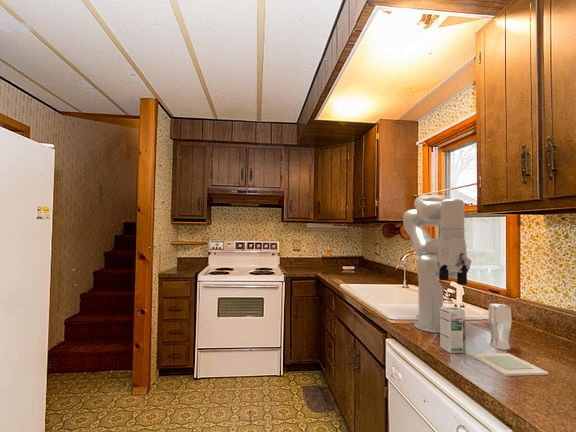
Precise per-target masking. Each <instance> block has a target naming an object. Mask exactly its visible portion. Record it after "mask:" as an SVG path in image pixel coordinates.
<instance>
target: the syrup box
mask: <svg viewBox="0 0 576 432" xmlns="http://www.w3.org/2000/svg"><path fill="white" fill-rule="evenodd" d="M439 334H440V335H439V337H440V339H439V340H440V341H439V342H440V348H441V349H442V350H444V351H446V352H448V353H449V354H466V353H467V351H466V350H467V349H466V311H465V309H462V308H460V307H457V306H443V307H440V333H439Z"/></svg>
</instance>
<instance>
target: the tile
mask: <svg viewBox="0 0 576 432" xmlns="http://www.w3.org/2000/svg"><path fill="white" fill-rule="evenodd" d="M470 357H472V358H474V359H475V360H477V361H479V362H481V363H482V364H484V365H485V366H487V367H489V368H490V369H493V370H495V371H496V372H498V373H499V374H501V375H502V376H504V377H509V376H510V377H511V376H515V377H516V376H517V377H519V376H548V375H549V374H550V373H549V372H548V371H547V370H544V369H542V368H540V367H537V366H536V365H534V364H531V363H529V362H528V361H527V360H523V359H521V358H519V357H517V356H515V355H514V354H511V353H508V352H507V353H505V352H504V353H503V352H502V353H501V352H500V353H498V352H497V353H470Z"/></svg>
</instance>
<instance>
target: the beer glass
mask: <svg viewBox="0 0 576 432" xmlns="http://www.w3.org/2000/svg"><path fill="white" fill-rule="evenodd" d="M511 309H512V307H511V306H510V305H507V304H502V303H493V302H492V303H491V302H490V303H488V312H487V313H488V315H487V316H488V317H487V318H488V324H489V329H490V336H491V337H490V343H489V346H491V347H492V348H494V349H496V350H497V349H498V350H502V351H510V350H511V344H510V332H511V330H512V329H511V327H512V323H513V322H512V321H513V319H512V310H511Z"/></svg>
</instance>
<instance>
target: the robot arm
mask: <svg viewBox="0 0 576 432" xmlns="http://www.w3.org/2000/svg"><path fill="white" fill-rule="evenodd" d="M413 204H414V208H415V209H414V208H413V209H408V210H406V211H404V213H403V217H402V222H403V227H404V229H405V232H406V233H407V235H408V236H409V237H410V239H411V242H412V245H413V248H414V252H415V254H416V256H417V259H416V261H415V262H416V271H417V280H418V313H417V315H416V316H415V317H416V318H417V321H415V323H414V327H415V328H416V329H417V330H420V331H422V332H423V331H424V332H427V333H432V334H440V307H444V289H443V286H442V284H441V283H440V282H439V280H440V281H449V279H450V278H454V279H455V278H456V284H457V285H461V286H462V285H463V286H464V285H468V273H469V270H470V268H471V264H472V260H471V259H470V258H469V257H468V254H467V253H468V252H467V243H466V239H465V202H464V201H463V200H462V199H459V198H448V197H447V196H445V195H443V194H442V195H441V194H422V195H419V196H418V197H416V198H415V200H414V202H413ZM439 225H440V237H439V238H432V236H431V235H430V233H429V232H428V231H427V230H426V229H425V228H424V227H438V226H439ZM437 278H439V280H438V279H437Z"/></svg>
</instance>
